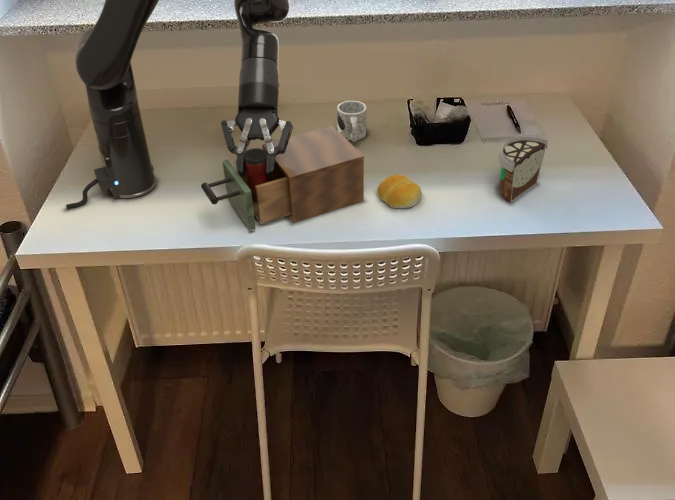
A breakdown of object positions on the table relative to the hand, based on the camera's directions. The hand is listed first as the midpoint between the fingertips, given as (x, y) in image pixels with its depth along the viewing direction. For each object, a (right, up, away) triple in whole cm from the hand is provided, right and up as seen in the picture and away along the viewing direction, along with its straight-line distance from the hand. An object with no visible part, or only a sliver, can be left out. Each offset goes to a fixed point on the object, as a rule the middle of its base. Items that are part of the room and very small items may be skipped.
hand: (255, 174), depth 133 cm
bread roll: (+28, -4, +10) cm, 30 cm away
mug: (+19, +12, +30) cm, 37 cm away
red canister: (0, -2, +4) cm, 4 cm away
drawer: (0, -6, +7) cm, 9 cm away
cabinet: (+11, -3, +12) cm, 16 cm away
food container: (+51, -2, +12) cm, 53 cm away
